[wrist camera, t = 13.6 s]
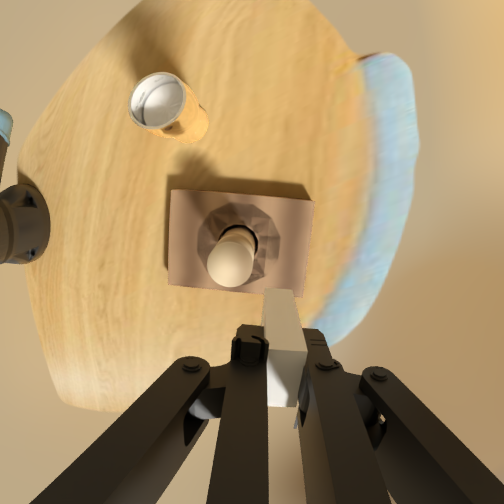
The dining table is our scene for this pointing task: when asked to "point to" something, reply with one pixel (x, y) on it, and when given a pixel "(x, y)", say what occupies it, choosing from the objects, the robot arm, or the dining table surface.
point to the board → (245, 215)
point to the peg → (232, 258)
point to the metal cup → (167, 108)
